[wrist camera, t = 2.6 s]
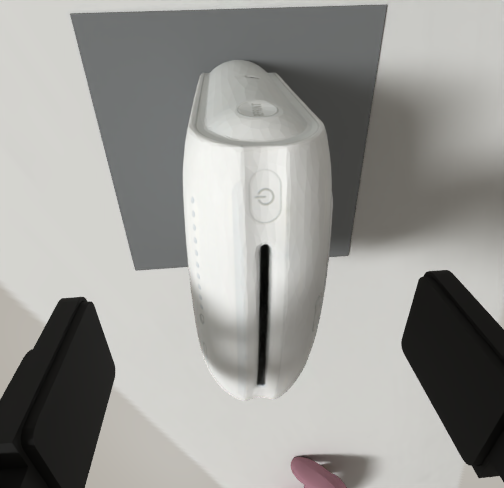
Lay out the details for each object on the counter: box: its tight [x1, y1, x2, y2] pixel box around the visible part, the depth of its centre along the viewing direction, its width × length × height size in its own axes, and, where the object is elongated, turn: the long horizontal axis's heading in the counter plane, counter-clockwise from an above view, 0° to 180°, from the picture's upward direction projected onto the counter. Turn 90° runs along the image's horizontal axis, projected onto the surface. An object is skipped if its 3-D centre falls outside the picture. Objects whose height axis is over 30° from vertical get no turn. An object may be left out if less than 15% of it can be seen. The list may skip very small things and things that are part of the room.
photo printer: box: [183, 60, 333, 401], centre depth 15 cm, size 10×4×12 cm, turn 0°
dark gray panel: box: [70, 5, 387, 270], centre depth 20 cm, size 14×14×1 cm
